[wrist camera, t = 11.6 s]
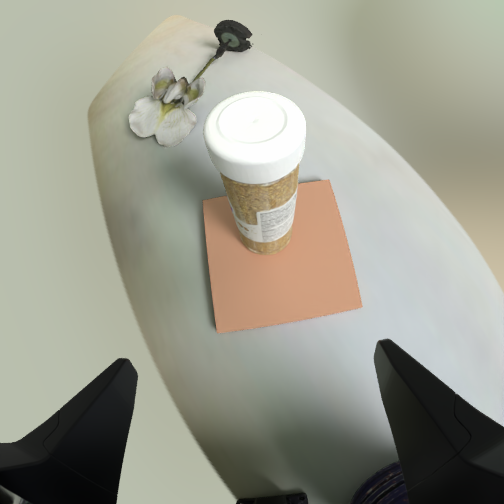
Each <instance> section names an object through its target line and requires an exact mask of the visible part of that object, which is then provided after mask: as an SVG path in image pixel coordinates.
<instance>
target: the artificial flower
mask: <svg viewBox="0 0 504 504" xmlns="http://www.w3.org/2000/svg"><path fill="white" fill-rule="evenodd" d="M214 33H215V35H216V37H217V38H218V40H219V42H220V44H219V45H220V46H221V47H219V48H218V49H217V52H216V55H215V56H214V57H213V58H211V59H210V60H209V62H208V63H207V64H206V66H205V67H204V69H203V70H202V71H201V72H200V73H199V74H198V75H197V76H196V78H195V79H194V80H193V82H192V83H191V84H188V82H187V79H186V78H185V77H182V78H181V79H179V80H178V82H177V81H176V79H175V77H174V75H173V72H172V71H171V70H170V69H169V68H168V67H164V68H161V69H160V70H159V72H158V73H157V75H155V76H154V77H153V78H152V88H151V91H152V94H153V96H147V97H143V98H141V99H139V100H137V101H136V103H135V106H134V109H133V110H132V111H131V113H130V114H129V123H130V128H131V129H132V130H133V131H134V132H135V133H136V134H137V135H138V136H139V137H148V136H151V135H153V134H155V135H156V138H157V141H158V143H159V144H161V145H164V146H167V148H168V147H172V146H176V145H178V144H179V143H180V142H182V140H183V139H184V138H185V137H186V135H188V134H189V133H190V131H191V129H192V128H193V127H194V126H195V124H196V121H197V120H196V116H195V114H194V113H193V112H191V111H190V110H189V109H187V108H188V107H191V106H192V105H193V104H194V103H196V102H197V100H198V98H200V97H201V96H202V94H203V91H204V87H205V80H204V78H199V77H200V76H201V75H202V74H203V72H204V71H205V70H206V69H207V68H208V66H209V65H210V64H211V63H212V62H213V61H214V60H215V59H217V58H219V57H221V56H222V55H223V53H224V52H225V49H226V50H228V51H231V50H234V51H239V52H242V51H245V50H247V49H248V48H249V49H250V48H251V47H252V46H251V45H250V42H249V41H246V38H250V37H251V36H252V33H251V32H250V31H249V30H248V28H246V27H245V26H243V25H242V24H240V23H238V22H236V21H233V20H225V21H221V22H220V23H219V24H217V26H216V28H215V29H214ZM249 46H251V47H249Z"/></svg>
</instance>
